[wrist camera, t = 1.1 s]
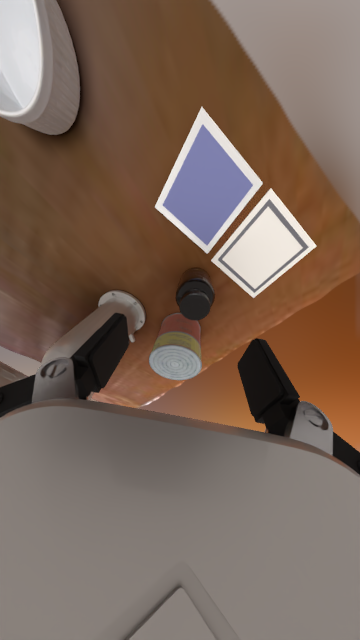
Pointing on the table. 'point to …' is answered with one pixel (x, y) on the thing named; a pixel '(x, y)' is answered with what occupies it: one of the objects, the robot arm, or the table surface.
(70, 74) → the ramekin
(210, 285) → the supplement bottle
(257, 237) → the marked card
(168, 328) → the canned food
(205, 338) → the table surface
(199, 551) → the robot arm
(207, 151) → the ink pad
